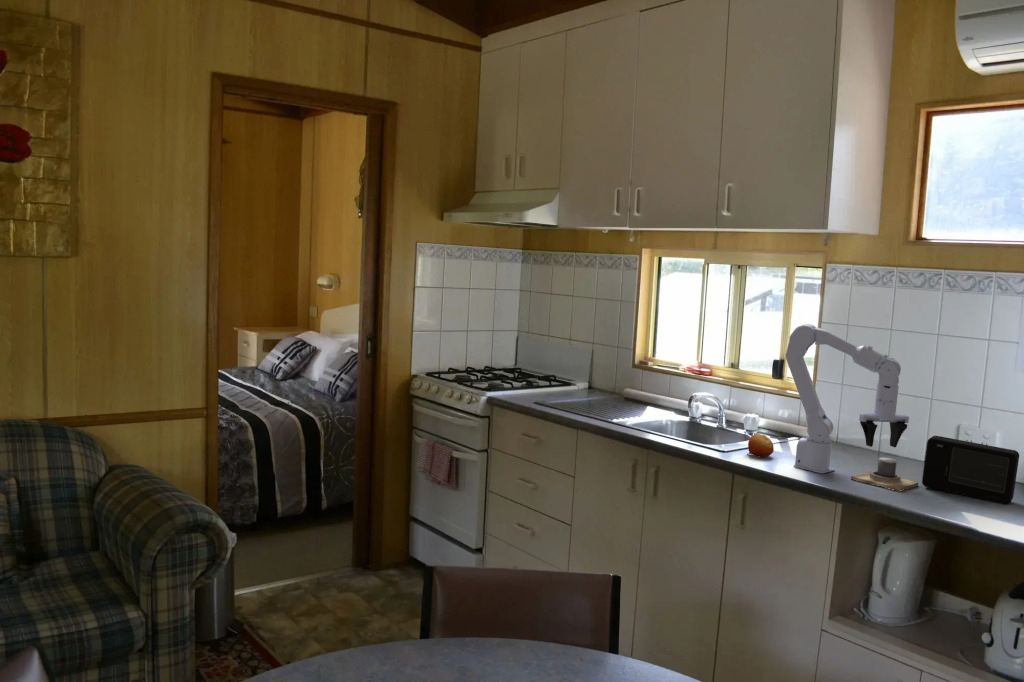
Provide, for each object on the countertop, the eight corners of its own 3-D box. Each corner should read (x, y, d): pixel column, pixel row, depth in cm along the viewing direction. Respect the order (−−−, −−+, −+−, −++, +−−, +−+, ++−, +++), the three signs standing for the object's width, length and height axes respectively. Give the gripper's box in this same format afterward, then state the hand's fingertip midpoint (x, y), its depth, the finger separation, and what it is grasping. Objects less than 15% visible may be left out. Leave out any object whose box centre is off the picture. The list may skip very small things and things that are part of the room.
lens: (881, 481, 241) (883, 461, 240) (872, 476, 246) (874, 456, 246) (897, 482, 241) (900, 461, 241) (888, 477, 246) (890, 457, 246)
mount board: (850, 479, 245) (851, 471, 245) (870, 474, 253) (871, 466, 253) (898, 491, 235) (899, 483, 235) (918, 485, 243) (918, 477, 242)
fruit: (750, 446, 276) (763, 428, 273) (768, 463, 272) (781, 445, 268) (737, 449, 271) (750, 431, 267) (755, 466, 266) (769, 448, 263)
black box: (1017, 500, 233) (1023, 446, 232) (1010, 507, 226) (1016, 451, 224) (929, 482, 248) (934, 432, 246) (919, 488, 240) (925, 436, 239)
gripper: (871, 402, 240) (866, 448, 242) (917, 403, 243) (912, 450, 244) (857, 397, 247) (852, 443, 249) (902, 399, 250) (897, 444, 251)
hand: (881, 446), depth 247 cm, fingers open, 7 cm apart
